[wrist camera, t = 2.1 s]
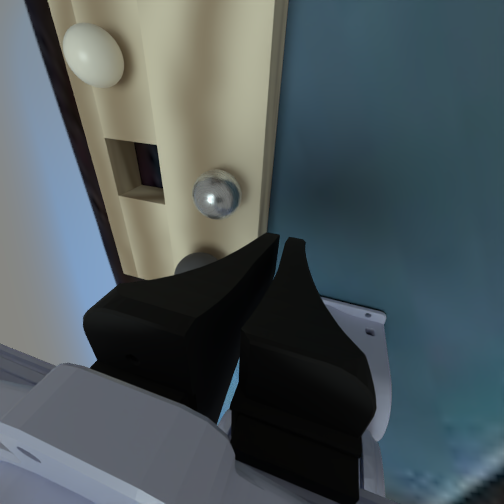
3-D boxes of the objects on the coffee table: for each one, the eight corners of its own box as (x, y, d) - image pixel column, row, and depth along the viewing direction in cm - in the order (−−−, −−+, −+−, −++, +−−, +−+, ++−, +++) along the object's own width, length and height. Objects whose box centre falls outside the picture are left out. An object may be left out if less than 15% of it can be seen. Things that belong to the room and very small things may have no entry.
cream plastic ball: (129, 28, 15) (86, 17, 13) (139, 89, 17) (103, 90, 14) (87, 27, 16) (39, 16, 13) (100, 86, 17) (60, 86, 15)
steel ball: (249, 167, 17) (230, 181, 14) (247, 212, 19) (230, 232, 16) (204, 161, 18) (180, 173, 15) (206, 204, 19) (185, 222, 17)
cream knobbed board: (290, -21, 14) (277, -43, 12) (261, 288, 26) (252, 308, 24) (82, -14, 17) (39, -31, 15) (142, 258, 29) (123, 273, 27)
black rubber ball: (232, 248, 21) (210, 278, 18) (232, 286, 23) (212, 318, 20) (188, 238, 22) (159, 265, 19) (191, 276, 24) (167, 305, 21)
